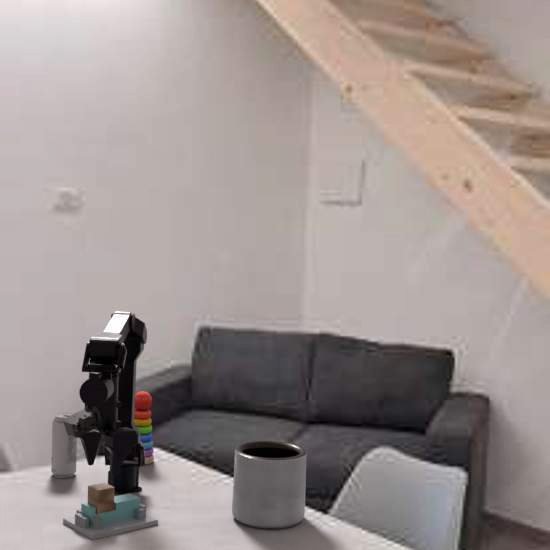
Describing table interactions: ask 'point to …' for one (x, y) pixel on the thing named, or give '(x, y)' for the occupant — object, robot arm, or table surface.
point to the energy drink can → (63, 449)
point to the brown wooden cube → (101, 497)
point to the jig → (109, 524)
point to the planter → (269, 484)
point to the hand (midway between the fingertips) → (102, 470)
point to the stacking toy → (144, 423)
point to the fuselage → (122, 509)
